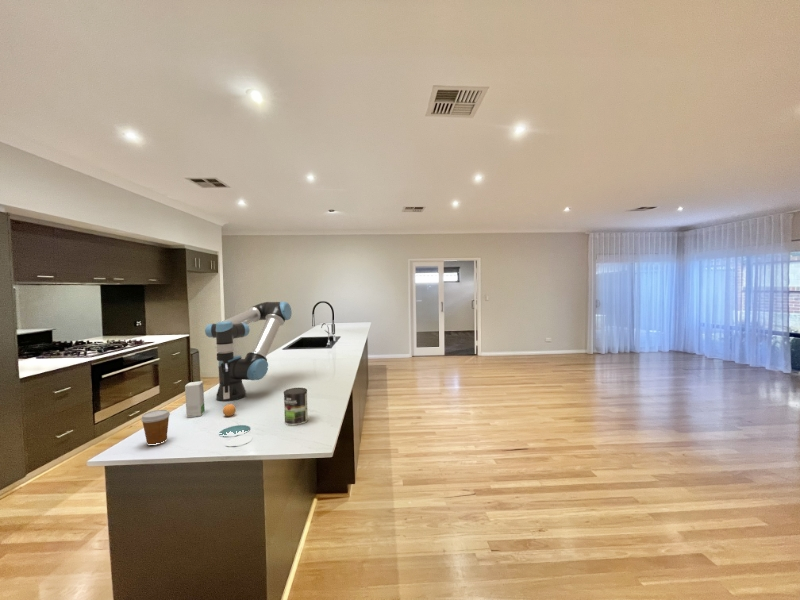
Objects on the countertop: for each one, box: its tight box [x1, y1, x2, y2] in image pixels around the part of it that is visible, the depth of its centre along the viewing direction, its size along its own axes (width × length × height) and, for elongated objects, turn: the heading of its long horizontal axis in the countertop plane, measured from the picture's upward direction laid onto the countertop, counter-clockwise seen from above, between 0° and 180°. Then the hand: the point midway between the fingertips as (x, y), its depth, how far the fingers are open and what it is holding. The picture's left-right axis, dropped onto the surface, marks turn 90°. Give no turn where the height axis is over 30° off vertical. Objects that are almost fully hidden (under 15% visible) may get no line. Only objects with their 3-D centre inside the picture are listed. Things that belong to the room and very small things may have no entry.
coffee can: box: [283, 387, 309, 426], centre depth 155 cm, size 10×10×14 cm
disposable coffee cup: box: [140, 409, 171, 444], centre depth 136 cm, size 10×10×12 cm
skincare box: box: [184, 380, 206, 419], centre depth 167 cm, size 8×7×16 cm
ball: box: [222, 403, 237, 417], centre depth 165 cm, size 6×6×6 cm
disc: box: [218, 424, 251, 438], centre depth 146 cm, size 12×12×1 cm
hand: (226, 398), depth 172 cm, fingers closed
